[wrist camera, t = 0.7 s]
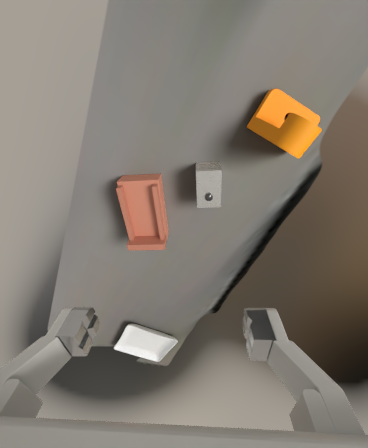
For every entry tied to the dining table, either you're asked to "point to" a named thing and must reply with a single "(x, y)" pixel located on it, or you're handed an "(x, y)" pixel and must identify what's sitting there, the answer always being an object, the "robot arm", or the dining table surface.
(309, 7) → the dining table surface
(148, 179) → the pink boxy piece
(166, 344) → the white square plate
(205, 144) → the dining table surface
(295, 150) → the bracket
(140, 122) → the dining table surface
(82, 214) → the dining table surface
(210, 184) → the block with knob
